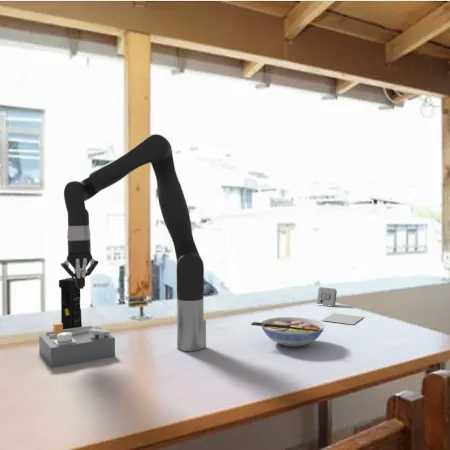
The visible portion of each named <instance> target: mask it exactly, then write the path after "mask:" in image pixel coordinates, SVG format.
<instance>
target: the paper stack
mask: <svg viewBox="0 0 450 450" xmlns="http://www.w3.org/2000/svg"><path fill="white" fill-rule="evenodd" d="M362 319H364V316H361V315H360V316H359V315H358V316H357V315H353V314H344V313H337V312H336V313H335V312H333V313H331V314H330V315H328V316H326V317H325V318H323V319H322V321H325V322H330V323H331V322H332V323H333V322H334V323H339V324H346V325H355V324H356V323H357V322H359V321H360V320H362Z"/></svg>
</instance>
